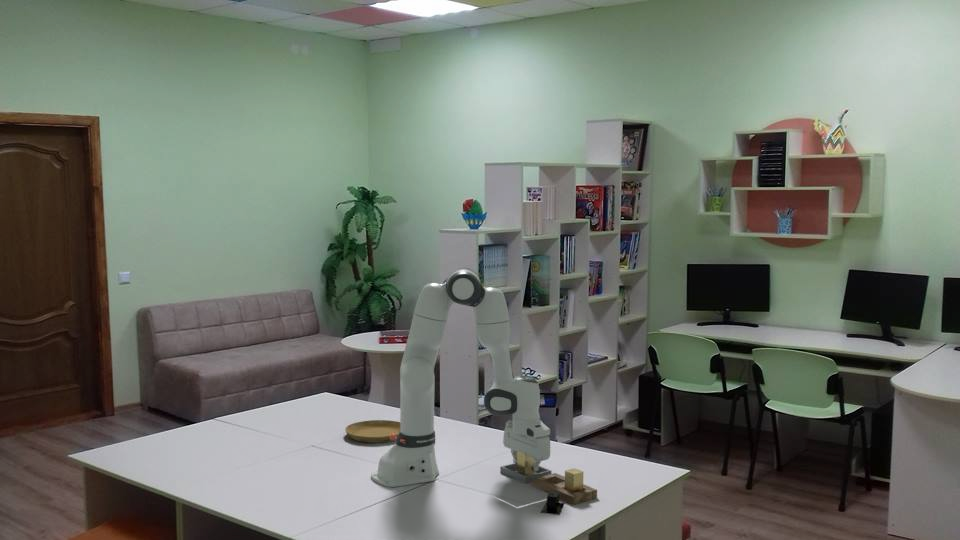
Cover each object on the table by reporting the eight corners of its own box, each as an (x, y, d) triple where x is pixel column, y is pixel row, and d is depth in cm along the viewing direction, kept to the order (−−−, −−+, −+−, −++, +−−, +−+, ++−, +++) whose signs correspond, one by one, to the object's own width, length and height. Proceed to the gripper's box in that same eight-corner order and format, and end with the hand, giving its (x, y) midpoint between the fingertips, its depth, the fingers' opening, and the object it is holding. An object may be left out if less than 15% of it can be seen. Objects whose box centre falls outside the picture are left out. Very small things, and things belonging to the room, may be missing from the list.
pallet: (573, 504, 248) (573, 496, 248) (531, 486, 264) (531, 479, 263) (597, 497, 254) (597, 489, 254) (555, 480, 270) (555, 472, 269)
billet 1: (524, 477, 271) (525, 453, 270) (517, 474, 274) (517, 450, 273) (534, 474, 273) (534, 451, 273) (526, 471, 277) (527, 448, 276)
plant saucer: (375, 424, 336) (375, 416, 335) (421, 434, 322) (421, 425, 321) (331, 438, 316) (331, 429, 316) (378, 449, 302) (378, 440, 302)
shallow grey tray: (525, 485, 265) (525, 477, 265) (500, 473, 276) (500, 466, 275) (551, 478, 272) (551, 470, 272) (525, 467, 282) (525, 460, 282)
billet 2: (573, 499, 253) (573, 474, 252) (564, 496, 256) (564, 470, 255) (583, 497, 255) (583, 471, 254) (574, 493, 258) (574, 468, 258)
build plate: (545, 501, 253) (545, 486, 253) (569, 503, 251) (569, 488, 251) (536, 515, 241) (537, 500, 241) (561, 518, 239) (562, 502, 239)
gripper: (498, 420, 279) (498, 460, 280) (538, 434, 262) (538, 477, 264) (513, 417, 282) (513, 456, 284) (553, 431, 266) (553, 473, 267)
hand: (525, 466), depth 274 cm, fingers open, 8 cm apart
